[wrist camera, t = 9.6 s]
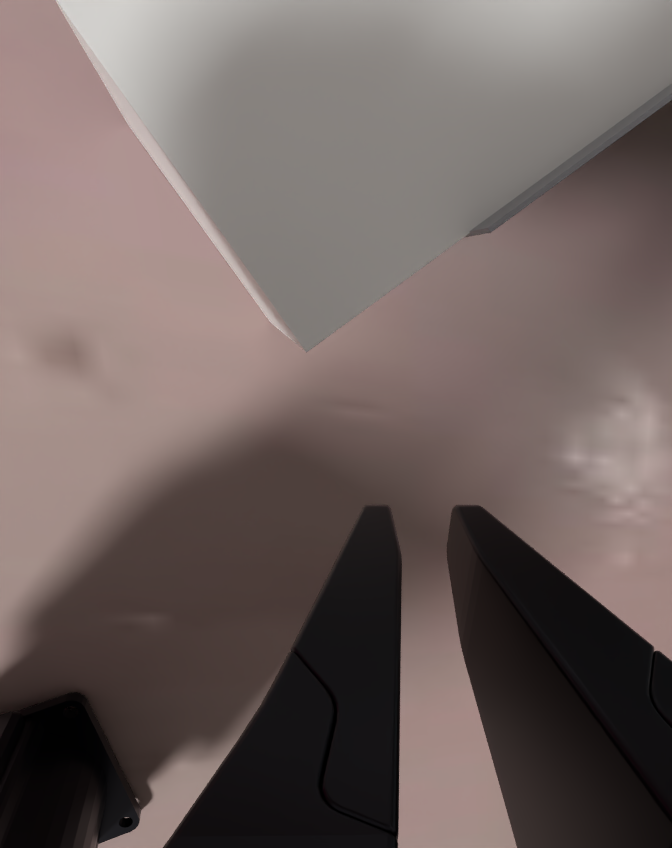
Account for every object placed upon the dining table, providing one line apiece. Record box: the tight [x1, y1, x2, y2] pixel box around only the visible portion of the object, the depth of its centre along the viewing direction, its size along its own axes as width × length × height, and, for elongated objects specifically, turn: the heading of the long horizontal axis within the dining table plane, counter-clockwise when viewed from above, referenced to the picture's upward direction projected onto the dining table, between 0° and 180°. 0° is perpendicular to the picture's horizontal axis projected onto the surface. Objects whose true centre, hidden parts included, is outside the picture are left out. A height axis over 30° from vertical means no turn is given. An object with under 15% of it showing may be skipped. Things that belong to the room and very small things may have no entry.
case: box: [55, 0, 672, 352], centre depth 13 cm, size 18×7×9 cm, turn 125°
